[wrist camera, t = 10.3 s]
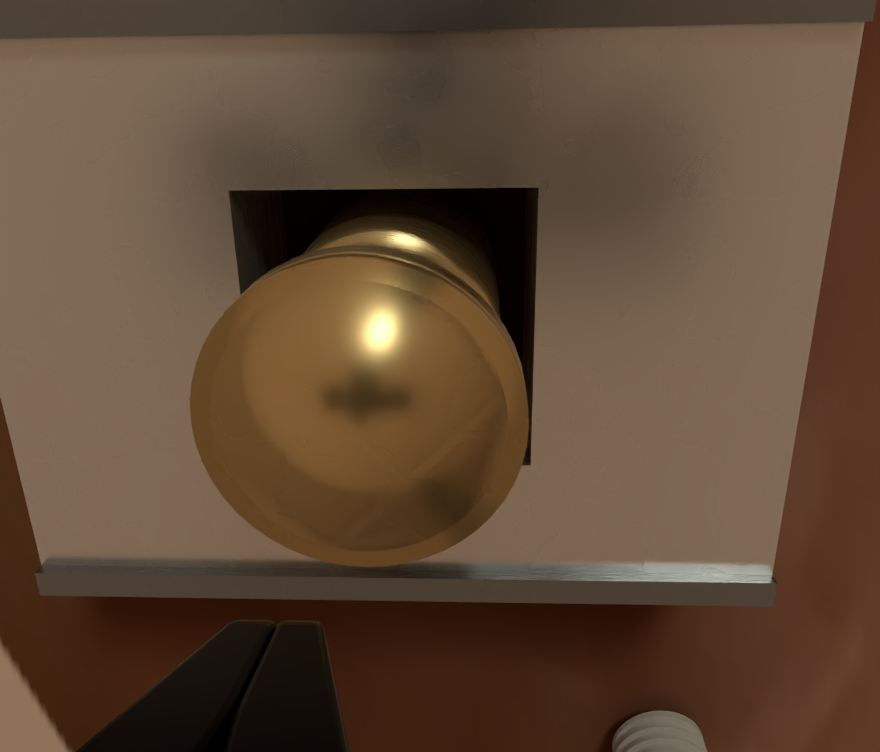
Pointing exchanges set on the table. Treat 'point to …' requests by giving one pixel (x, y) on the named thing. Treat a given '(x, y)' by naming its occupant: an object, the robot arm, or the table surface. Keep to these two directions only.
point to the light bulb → (658, 734)
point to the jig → (426, 167)
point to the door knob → (367, 388)
